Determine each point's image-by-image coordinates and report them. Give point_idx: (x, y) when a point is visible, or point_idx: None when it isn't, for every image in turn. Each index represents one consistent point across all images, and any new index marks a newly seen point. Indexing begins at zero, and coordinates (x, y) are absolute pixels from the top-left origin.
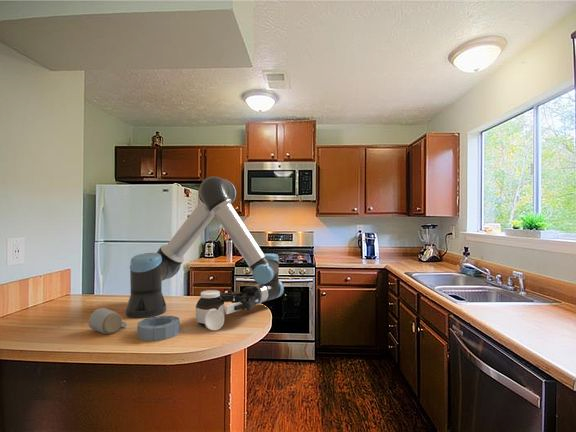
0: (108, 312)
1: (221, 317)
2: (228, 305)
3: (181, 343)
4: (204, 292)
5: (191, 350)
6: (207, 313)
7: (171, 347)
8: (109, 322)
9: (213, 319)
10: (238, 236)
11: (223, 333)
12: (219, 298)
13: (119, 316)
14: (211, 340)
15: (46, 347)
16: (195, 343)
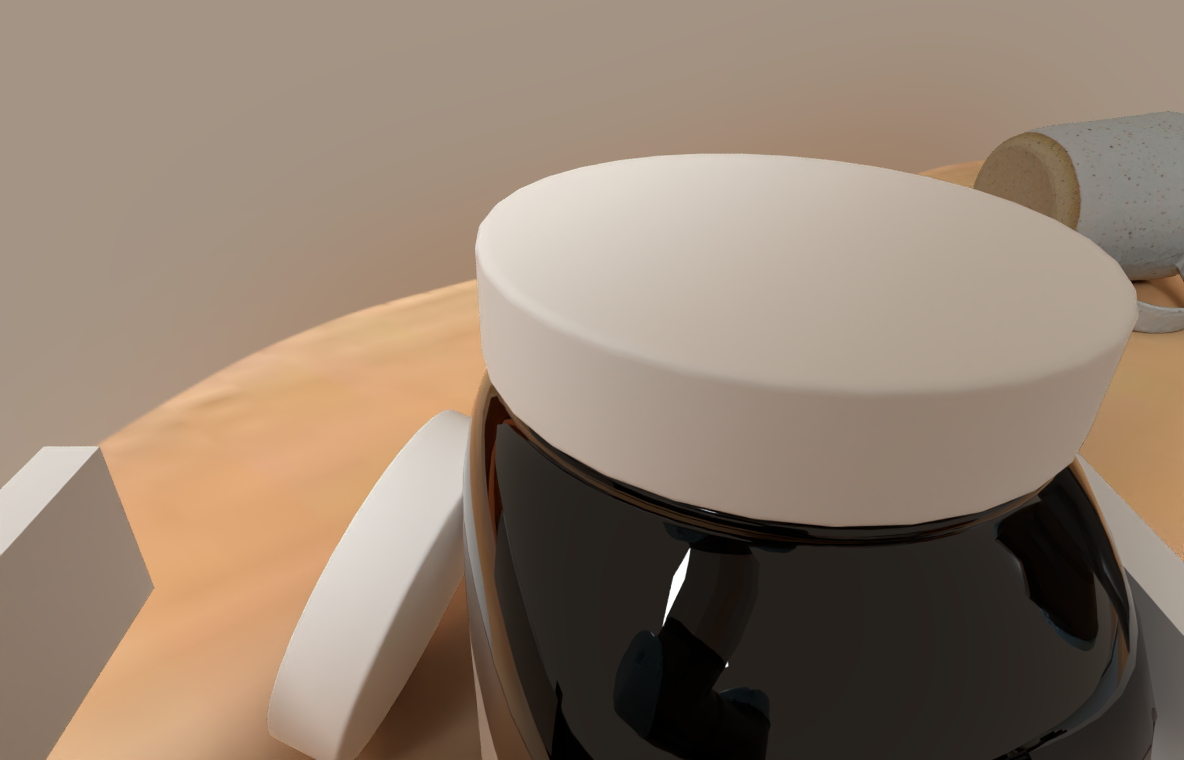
0: (1060, 125)
1: (355, 708)
2: (31, 494)
3: (448, 369)
4: (858, 189)
5: (276, 351)
6: (469, 417)
7: (454, 325)
8: (996, 184)
9: (437, 585)
10: None
11: (190, 671)
12: (500, 471)
13: (1052, 183)
14: (227, 489)
15: (938, 178)
16: (337, 406)
